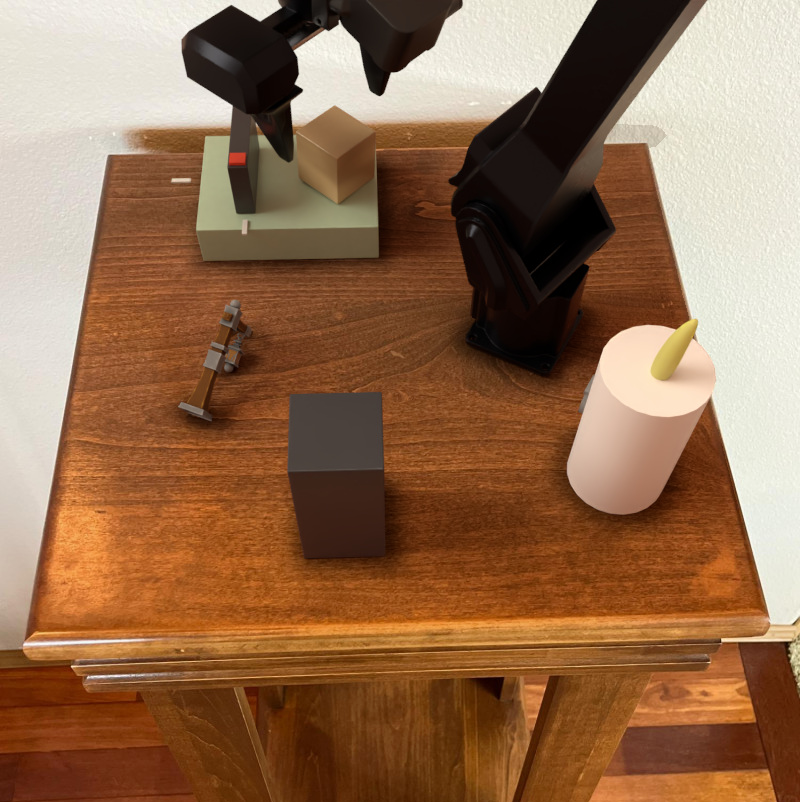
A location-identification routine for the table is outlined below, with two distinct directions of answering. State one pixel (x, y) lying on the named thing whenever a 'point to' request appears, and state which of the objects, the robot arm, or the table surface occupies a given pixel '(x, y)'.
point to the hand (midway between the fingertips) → (332, 125)
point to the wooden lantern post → (218, 359)
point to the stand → (337, 473)
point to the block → (336, 154)
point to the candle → (639, 416)
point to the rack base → (280, 213)
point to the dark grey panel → (243, 161)
